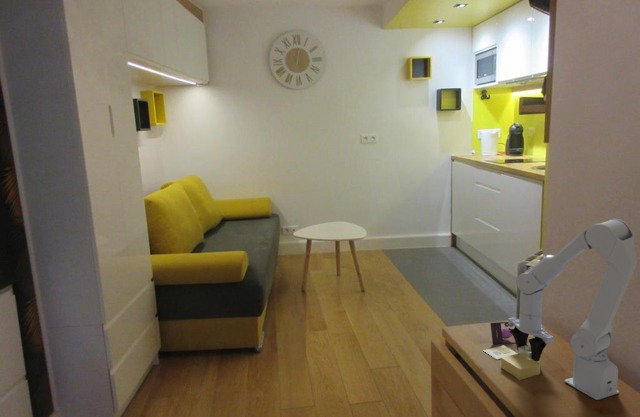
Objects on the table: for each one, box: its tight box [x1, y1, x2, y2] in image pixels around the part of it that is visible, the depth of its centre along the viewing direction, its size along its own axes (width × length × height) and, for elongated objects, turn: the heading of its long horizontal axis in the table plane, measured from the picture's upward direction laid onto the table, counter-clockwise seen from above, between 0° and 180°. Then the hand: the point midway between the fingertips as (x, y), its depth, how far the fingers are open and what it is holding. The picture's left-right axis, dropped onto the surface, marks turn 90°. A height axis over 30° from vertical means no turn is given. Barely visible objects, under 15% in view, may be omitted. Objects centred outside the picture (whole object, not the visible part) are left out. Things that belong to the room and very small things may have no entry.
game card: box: [490, 321, 516, 346], centre depth 144 cm, size 7×5×9 cm
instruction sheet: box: [482, 344, 518, 361], centre depth 136 cm, size 6×8×1 cm
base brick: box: [500, 352, 541, 381], centre depth 126 cm, size 7×7×3 cm
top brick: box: [517, 344, 540, 363], centre depth 130 cm, size 4×4×5 cm
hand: (528, 356), depth 130 cm, fingers open, 4 cm apart
